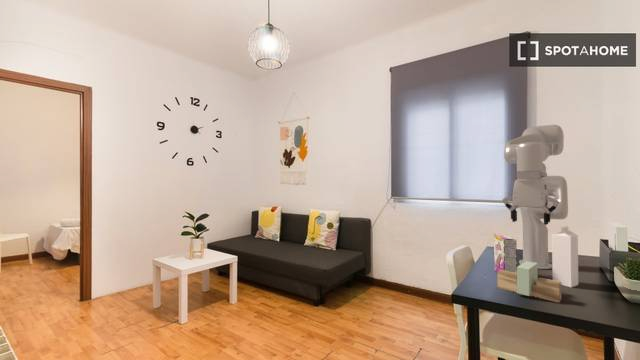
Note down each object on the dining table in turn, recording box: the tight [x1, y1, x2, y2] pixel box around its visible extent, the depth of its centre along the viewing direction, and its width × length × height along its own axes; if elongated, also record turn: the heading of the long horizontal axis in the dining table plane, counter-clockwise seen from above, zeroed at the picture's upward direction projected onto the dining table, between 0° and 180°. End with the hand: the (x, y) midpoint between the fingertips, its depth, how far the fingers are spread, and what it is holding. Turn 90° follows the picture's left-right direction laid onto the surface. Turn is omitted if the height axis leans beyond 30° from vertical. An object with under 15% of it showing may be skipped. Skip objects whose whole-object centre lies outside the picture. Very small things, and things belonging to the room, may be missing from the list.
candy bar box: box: [493, 233, 518, 273], centre depth 123 cm, size 11×5×16 cm, turn 168°
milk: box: [551, 225, 579, 288], centre depth 112 cm, size 6×6×22 cm
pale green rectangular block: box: [516, 261, 539, 297], centre depth 103 cm, size 11×4×9 cm, turn 131°
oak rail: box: [496, 270, 562, 303], centre depth 103 cm, size 4×18×6 cm, turn 41°
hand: (529, 222), depth 107 cm, fingers open, 9 cm apart
